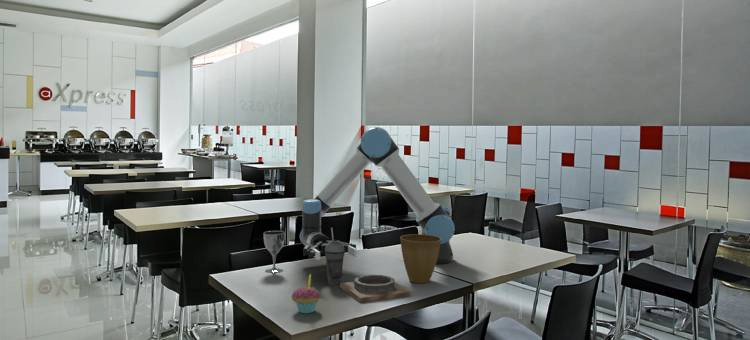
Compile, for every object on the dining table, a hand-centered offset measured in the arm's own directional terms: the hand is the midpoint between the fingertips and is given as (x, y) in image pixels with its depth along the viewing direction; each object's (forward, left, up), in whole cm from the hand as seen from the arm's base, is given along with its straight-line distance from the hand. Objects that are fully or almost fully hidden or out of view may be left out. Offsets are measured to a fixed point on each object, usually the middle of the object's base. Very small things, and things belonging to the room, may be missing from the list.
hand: (337, 254), depth 183 cm
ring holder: (-9, +12, -11) cm, 19 cm away
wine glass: (+16, -28, -11) cm, 34 cm away
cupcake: (+18, +22, -11) cm, 30 cm away
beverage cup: (0, -3, -11) cm, 12 cm away
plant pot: (-30, +6, -11) cm, 33 cm away
